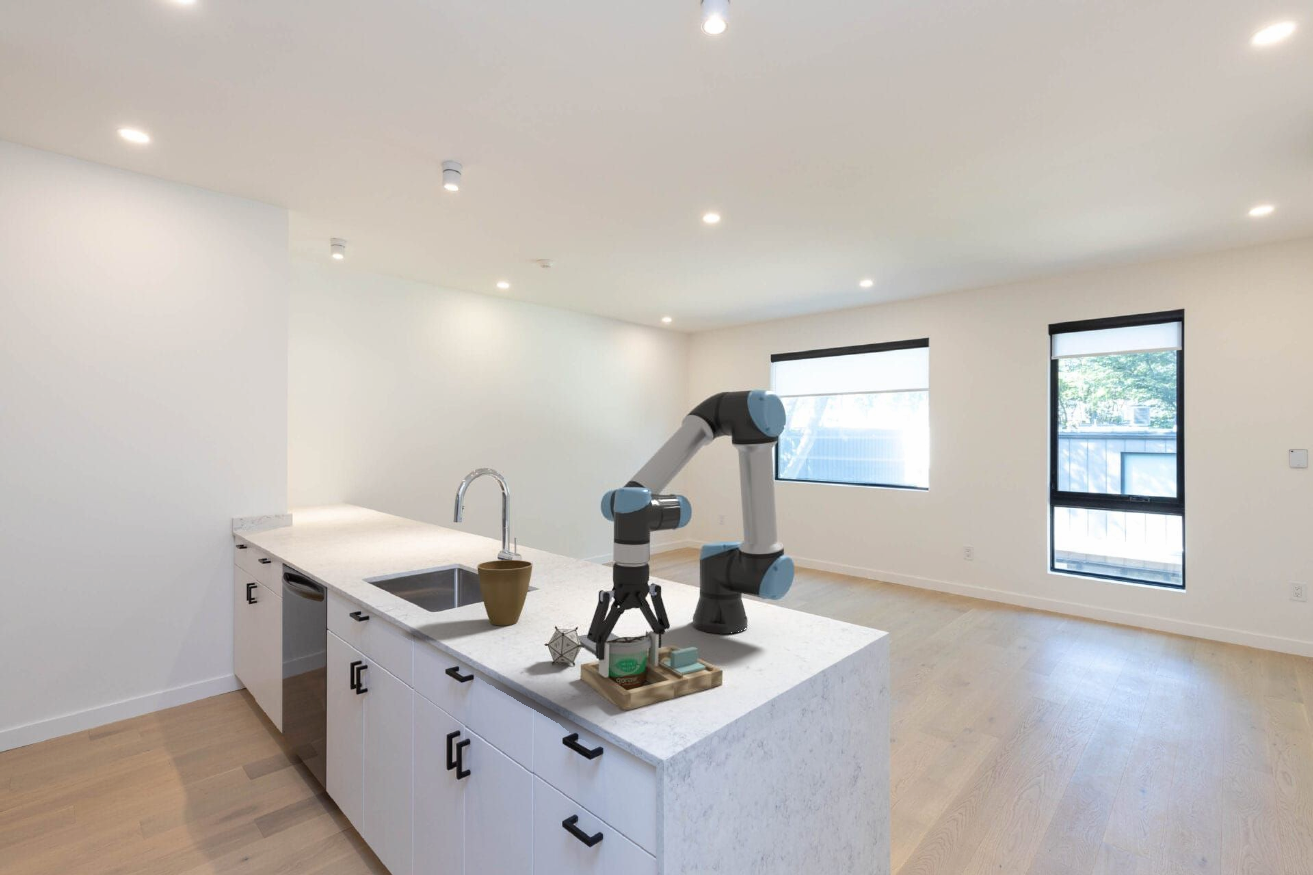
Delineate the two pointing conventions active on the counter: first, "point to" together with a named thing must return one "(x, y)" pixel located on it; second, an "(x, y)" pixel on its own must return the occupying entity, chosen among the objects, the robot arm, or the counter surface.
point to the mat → (590, 644)
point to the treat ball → (665, 660)
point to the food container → (628, 660)
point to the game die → (564, 645)
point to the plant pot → (504, 589)
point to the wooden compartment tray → (653, 682)
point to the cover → (684, 661)
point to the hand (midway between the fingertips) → (629, 669)
